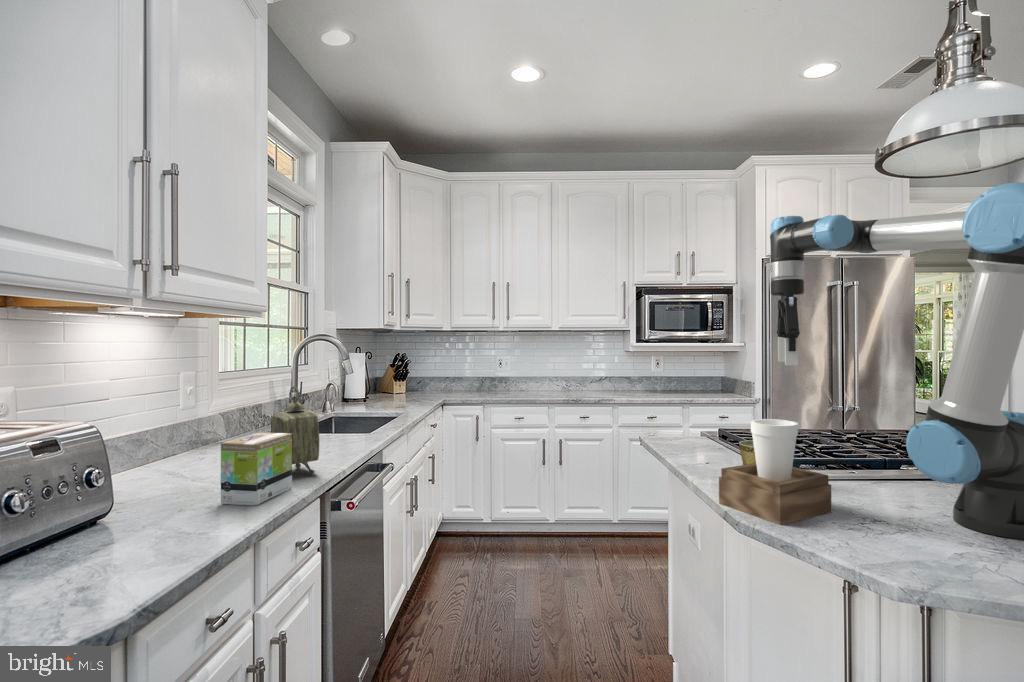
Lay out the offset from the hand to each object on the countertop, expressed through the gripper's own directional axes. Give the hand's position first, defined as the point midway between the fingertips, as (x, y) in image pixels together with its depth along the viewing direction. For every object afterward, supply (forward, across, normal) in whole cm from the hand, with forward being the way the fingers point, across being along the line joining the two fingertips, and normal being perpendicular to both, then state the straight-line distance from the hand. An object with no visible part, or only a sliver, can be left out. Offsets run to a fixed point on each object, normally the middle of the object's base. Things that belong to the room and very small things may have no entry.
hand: (787, 363), depth 141 cm
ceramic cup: (+31, -1, -6) cm, 31 cm away
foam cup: (+25, +22, -6) cm, 33 cm away
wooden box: (+31, +21, -6) cm, 38 cm away
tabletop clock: (+31, +26, -131) cm, 137 cm away
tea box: (+31, +47, -124) cm, 136 cm away
